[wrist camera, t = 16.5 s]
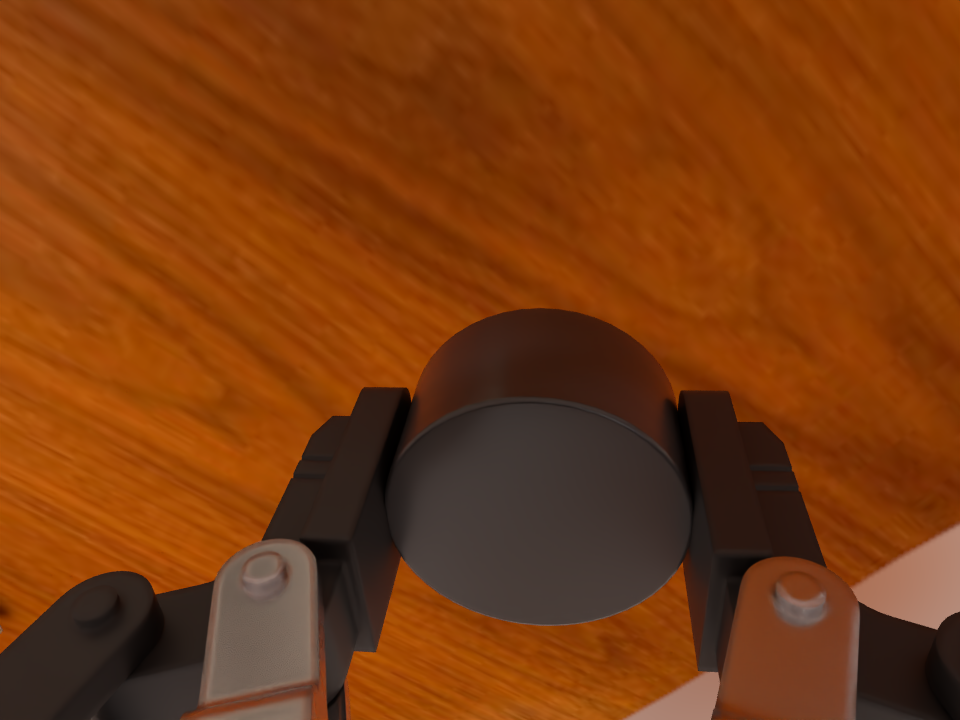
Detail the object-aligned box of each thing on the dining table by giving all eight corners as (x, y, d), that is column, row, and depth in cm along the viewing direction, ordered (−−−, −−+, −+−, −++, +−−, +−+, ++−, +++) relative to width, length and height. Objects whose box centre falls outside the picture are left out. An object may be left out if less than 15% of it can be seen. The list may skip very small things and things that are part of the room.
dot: (687, 305, 12) (709, 400, 10) (668, 520, 14) (682, 635, 12) (399, 307, 12) (361, 397, 10) (428, 513, 15) (402, 620, 13)
